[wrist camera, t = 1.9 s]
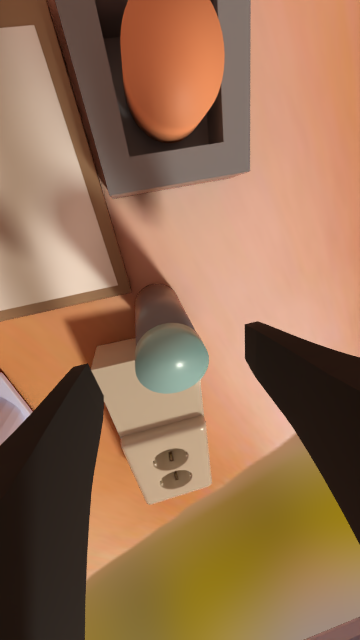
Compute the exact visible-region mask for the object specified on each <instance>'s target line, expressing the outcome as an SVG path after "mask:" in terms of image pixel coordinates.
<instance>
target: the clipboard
mask: <svg viewBox="0 0 360 640" xmlns="http://www.w3.org/2000/svg"><path fill="white" fill-rule="evenodd" d="M127 293H131V287H130V284H129V280H128V277H127V274H126V270H125V267H124V263H123V260H122V256H121V253H120V250H119V246H118V243H117V239H116V236H115V233H114V229H113V226H112V222H111V219H110V215H109V212H108V209H107V205H106V202H105V198H104V195H103V192H102V188H101V185H100V181H99V178H98V175H97V171H96V168H95V164H94V161H93V157H92V154H91V151H90V147H89V144H88V140H87V137H86V134H85V130H84V127H83V123H82V120H81V116H80V113H79V110H78V106H77V103H76V99H75V96H74V93H73V89H72V86H71V82H70V79H69V75H68V72H67V69H66V65H65V62H64V58H63V55H62V52H61V48H60V45H59V41H58V38H57V34H56V31H55V28H54V24H53V21H52V17H51V14H50V11H49V7H48V4H47V0H0V322H1V321H5V320H10V319H14V318H19V317H23V316H28V315H32V314H37V313H41V312H46V311H50V310H55V309H59V308H64V307H68V306H73V305H77V304H82V303H86V302H91V301H95V300H100V299H104V298H109V297H113V296H118V295H122V294H127Z"/></svg>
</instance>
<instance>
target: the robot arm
mask: <svg viewBox="0 0 360 640" xmlns="http://www.w3.org/2000/svg"><path fill="white" fill-rule="evenodd" d="M245 359H246V361H247V363H248V365H249V367H250V368H251V370H252V372H253V374H254V375H255V377H256V378H257V380H258V381H259V382H260V384H261V385H262V386H263V388H264V389H265V390H266V392H267V393H268V394H269V396H270V397H271V398H272V400H273V401H274V402H275V404H276V405H277V406H278V408H279V409H280V410H281V412H282V413H283V414H284V416H285V417H286V418H287V420H288V421H289V423H290V424H291V425H292V427H293V428H294V430H295V431H296V433H297V435H298V436H299V438H300V439H301V441H302V443H303V444H304V446H305V448H306V449H307V451H308V452H309V454H310V456H311V458H312V459H313V461H314V463H315V464H316V466H317V467H318V469H319V471H320V473H321V474H322V476H323V478H324V479H325V481H326V483H327V485H328V487H329V489H330V490H331V492H332V494H333V496H334V497H335V499H336V501H337V503H338V504H339V506H340V508H341V510H342V512H343V514H344V515H345V517H346V519H347V521H348V523H349V525H350V527H351V529H352V531H353V532H354V534H355V536H356V538H357V540H358V542H359V544H360V358H359V357H356V356H352V355H349V354H345V353H342V352H339V351H335V350H332V349H329V348H327V347H324V346H321V345H318V344H315V343H312V342H309V341H307V340H304V339H301V338H299V337H296V336H294V335H291V334H289V333H286V332H284V331H281V330H279V329H276V328H274V327H271V326H269V325H266V324H263V323H261V322H253V323H249V324H245ZM103 411H104V395H103V393H102V391H101V389H100V387H99V385H98V383H97V381H96V379H95V377H94V375H93V373H92V371H91V369H90V367H89V365H88V364H83V365H79V366H75V367H73V368H72V369H71V370H70V371H69V372H68V373H67V374H66V375H65V376H64V378H63V379H62V380H61V381H60V382H59V383H58V384H57V386H56V387H55V388H54V389H53V390H52V391H51V392H50V393H49V395H48V396H47V397H46V398H45V399H44V400H43V401H42V402H41V403H40V405H39V406H38V407H37V408H36V409H35V410H34V411H32V410H31V409H30V408H29V406H28V405H27V404H26V402H25V401H24V400H23V399H22V397H21V396H20V395H19V393H18V392H17V391H16V390H15V388H14V387H13V386H12V384H11V383H10V382H9V381H8V379H7V378H6V377H5V375H4V374H3V373H2V372H0V640H85V594H86V568H87V547H88V530H89V515H90V503H91V490H92V483H93V475H94V469H95V464H96V458H97V452H98V446H99V440H100V435H101V428H102V422H103ZM304 640H360V617H358V618H356V619H353V620H351V621H348V622H346V623H343V624H341V625H338V626H336V627H334V628H331V629H329V630H327V631H324V632H321V633H319V634H317V635H314V636H312V637H309V638H307V639H304Z"/></svg>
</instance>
